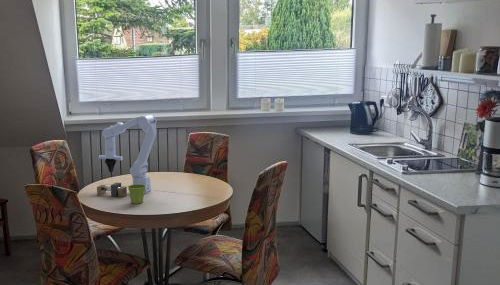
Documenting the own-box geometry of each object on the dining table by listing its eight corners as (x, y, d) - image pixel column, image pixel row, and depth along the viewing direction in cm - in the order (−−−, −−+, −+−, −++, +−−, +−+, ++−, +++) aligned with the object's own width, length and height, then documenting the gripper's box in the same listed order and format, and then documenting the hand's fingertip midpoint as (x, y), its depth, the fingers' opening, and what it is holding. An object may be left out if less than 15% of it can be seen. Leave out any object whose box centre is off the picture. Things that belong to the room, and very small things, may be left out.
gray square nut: (121, 193, 291) (121, 182, 290) (116, 196, 286) (115, 185, 285) (116, 193, 292) (116, 182, 291) (111, 195, 286) (110, 185, 285)
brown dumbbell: (126, 194, 290) (126, 186, 289) (122, 197, 285) (122, 188, 284) (102, 192, 294) (101, 184, 293) (97, 195, 289) (96, 186, 289)
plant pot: (130, 199, 281) (130, 183, 279) (148, 199, 280) (147, 184, 279) (125, 204, 271) (125, 188, 270) (144, 205, 271) (143, 188, 270)
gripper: (125, 147, 301) (126, 171, 303) (102, 146, 305) (103, 169, 307) (118, 150, 294) (119, 173, 296) (95, 148, 298) (97, 172, 300)
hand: (111, 171), depth 301 cm, fingers closed
